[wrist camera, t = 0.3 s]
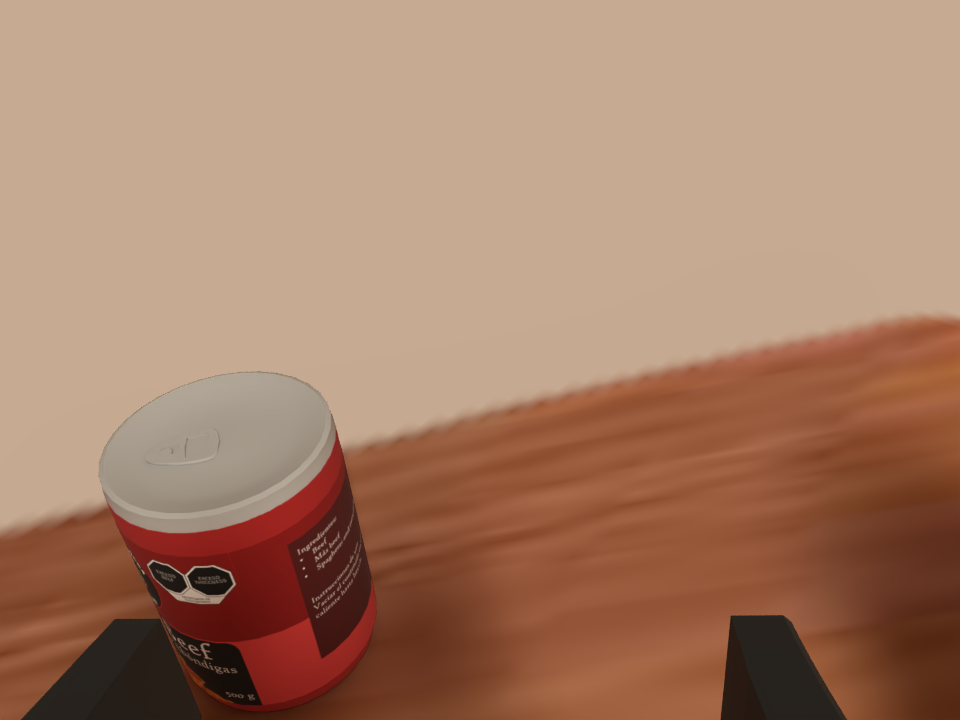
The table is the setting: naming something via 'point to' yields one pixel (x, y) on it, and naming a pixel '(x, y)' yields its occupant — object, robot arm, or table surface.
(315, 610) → the canned food
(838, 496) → the table surface
